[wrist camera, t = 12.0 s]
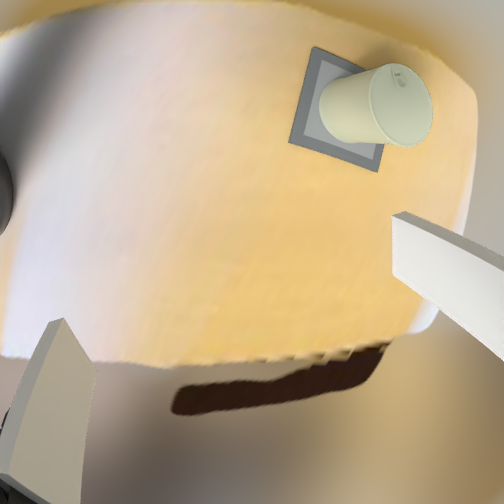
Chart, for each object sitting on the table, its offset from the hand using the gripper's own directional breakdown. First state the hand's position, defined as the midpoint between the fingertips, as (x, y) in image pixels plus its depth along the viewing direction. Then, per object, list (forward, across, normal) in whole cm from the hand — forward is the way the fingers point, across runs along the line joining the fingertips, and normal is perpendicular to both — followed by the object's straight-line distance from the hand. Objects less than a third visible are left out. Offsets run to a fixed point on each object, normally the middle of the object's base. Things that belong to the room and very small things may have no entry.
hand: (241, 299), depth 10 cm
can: (+26, +22, +5) cm, 35 cm away
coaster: (+27, +22, +5) cm, 35 cm away
